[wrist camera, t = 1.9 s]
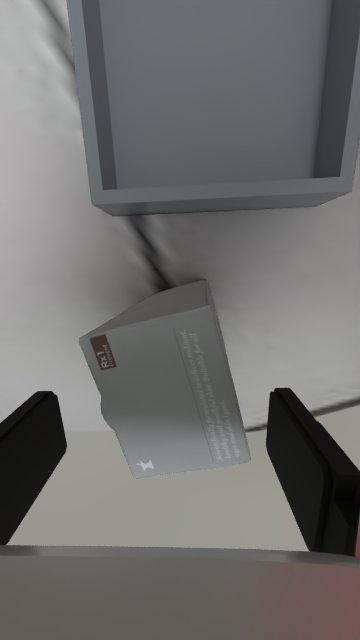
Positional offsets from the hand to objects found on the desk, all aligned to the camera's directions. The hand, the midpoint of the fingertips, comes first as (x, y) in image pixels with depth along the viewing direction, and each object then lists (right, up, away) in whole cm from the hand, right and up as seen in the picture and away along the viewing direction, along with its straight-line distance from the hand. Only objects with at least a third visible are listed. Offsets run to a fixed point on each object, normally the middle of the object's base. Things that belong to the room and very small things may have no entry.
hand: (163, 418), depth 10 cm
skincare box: (+1, +4, +16) cm, 16 cm away
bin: (+4, +25, +10) cm, 27 cm away
